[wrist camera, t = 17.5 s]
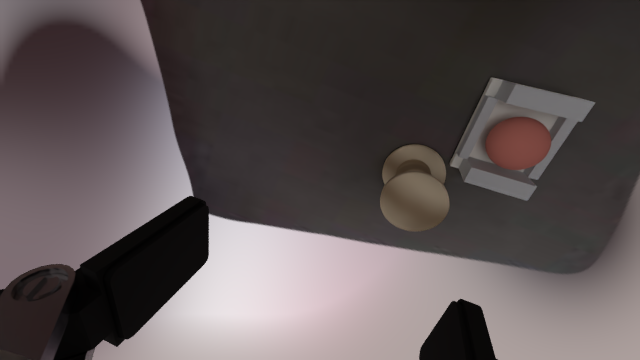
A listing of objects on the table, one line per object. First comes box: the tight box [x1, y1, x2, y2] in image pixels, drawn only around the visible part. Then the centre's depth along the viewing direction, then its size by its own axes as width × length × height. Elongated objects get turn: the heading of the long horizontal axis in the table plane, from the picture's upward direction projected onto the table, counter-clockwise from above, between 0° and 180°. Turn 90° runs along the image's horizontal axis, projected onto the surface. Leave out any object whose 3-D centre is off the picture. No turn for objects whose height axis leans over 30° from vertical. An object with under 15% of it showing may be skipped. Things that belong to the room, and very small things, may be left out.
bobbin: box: [380, 144, 449, 231], centre depth 32 cm, size 8×8×9 cm
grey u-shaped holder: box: [449, 77, 595, 201], centre depth 29 cm, size 11×9×5 cm
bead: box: [485, 117, 551, 170], centre depth 28 cm, size 6×6×6 cm
